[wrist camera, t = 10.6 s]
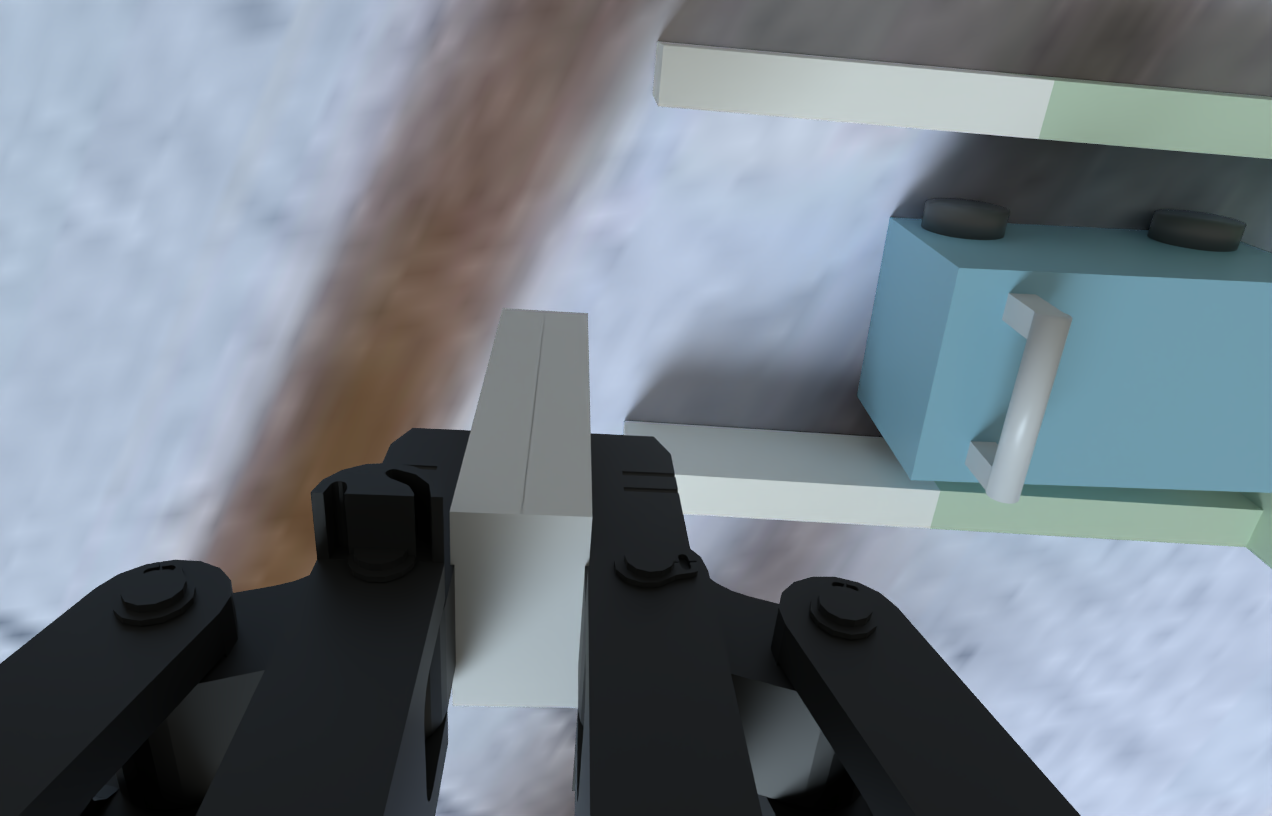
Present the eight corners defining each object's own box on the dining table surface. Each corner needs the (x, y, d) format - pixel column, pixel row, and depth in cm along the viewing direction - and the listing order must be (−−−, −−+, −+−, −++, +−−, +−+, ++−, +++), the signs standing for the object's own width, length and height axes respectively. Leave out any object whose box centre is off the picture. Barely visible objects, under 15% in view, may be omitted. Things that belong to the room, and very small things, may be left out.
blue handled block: (851, 412, 25) (930, 543, 18) (892, 193, 22) (1000, 262, 16) (1146, 423, 25) (1319, 555, 19) (1222, 210, 22) (1453, 284, 16)
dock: (621, 456, 25) (622, 532, 21) (656, 41, 20) (666, 46, 16) (1216, 493, 26) (1314, 570, 22) (1388, 106, 21) (1548, 126, 17)
